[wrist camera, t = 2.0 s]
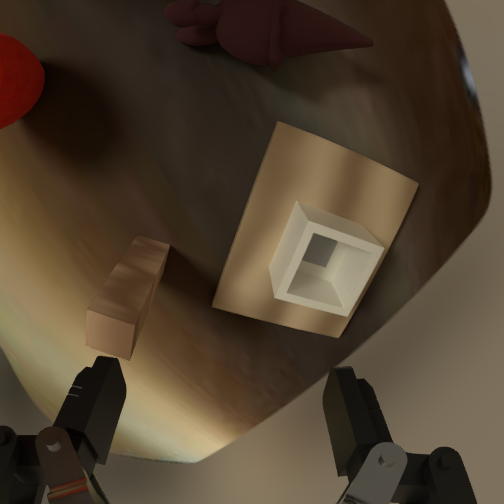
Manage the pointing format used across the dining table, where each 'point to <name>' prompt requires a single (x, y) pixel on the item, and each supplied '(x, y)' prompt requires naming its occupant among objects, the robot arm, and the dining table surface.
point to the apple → (18, 80)
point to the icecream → (262, 29)
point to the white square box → (323, 260)
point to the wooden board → (314, 194)
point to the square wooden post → (126, 298)
